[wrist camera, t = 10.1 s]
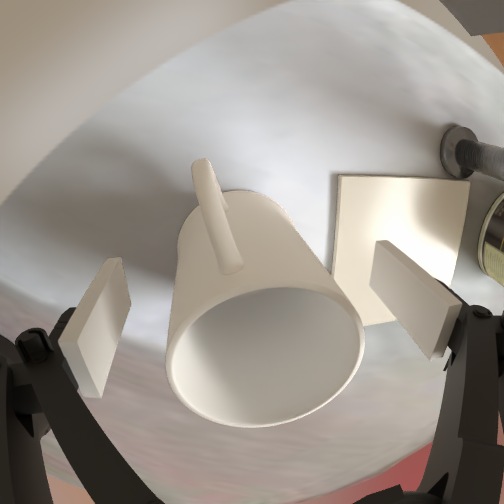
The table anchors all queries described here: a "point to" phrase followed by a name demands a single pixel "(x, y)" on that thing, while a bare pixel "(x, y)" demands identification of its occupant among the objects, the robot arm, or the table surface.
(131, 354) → the table surface
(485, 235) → the coffee can
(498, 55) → the swing arm
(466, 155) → the post
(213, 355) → the mug
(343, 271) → the coaster
